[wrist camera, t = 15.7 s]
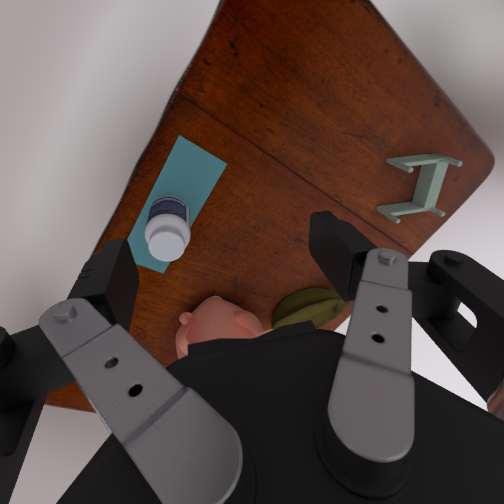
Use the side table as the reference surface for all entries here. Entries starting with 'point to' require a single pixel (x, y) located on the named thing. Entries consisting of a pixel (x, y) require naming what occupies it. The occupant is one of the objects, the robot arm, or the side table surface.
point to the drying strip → (177, 192)
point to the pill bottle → (168, 228)
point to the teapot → (216, 324)
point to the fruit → (308, 307)
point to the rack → (420, 184)
